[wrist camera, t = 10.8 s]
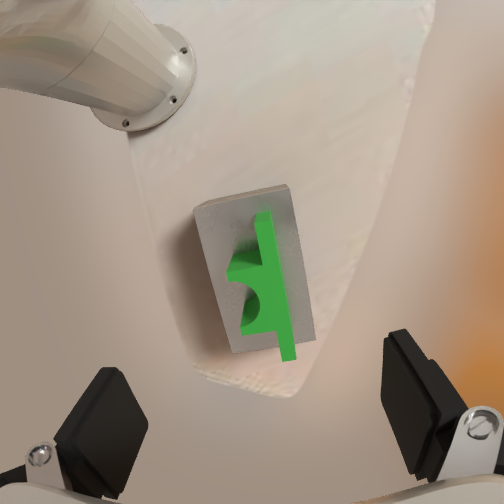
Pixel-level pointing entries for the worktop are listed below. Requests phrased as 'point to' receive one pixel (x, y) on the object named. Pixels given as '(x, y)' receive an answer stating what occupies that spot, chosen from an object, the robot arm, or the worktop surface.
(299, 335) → the gray rectangular block
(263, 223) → the pipe clamp
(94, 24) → the robot arm
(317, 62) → the worktop surface
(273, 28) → the worktop surface
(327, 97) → the worktop surface
